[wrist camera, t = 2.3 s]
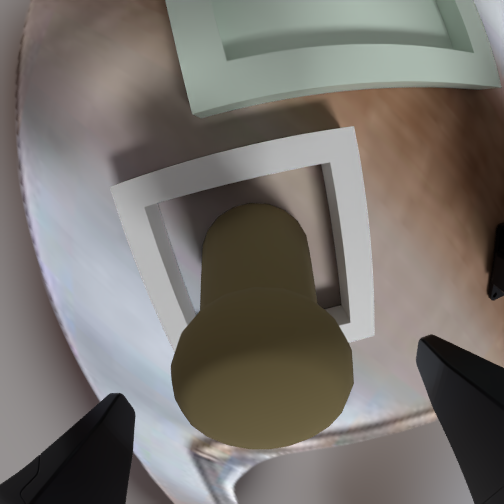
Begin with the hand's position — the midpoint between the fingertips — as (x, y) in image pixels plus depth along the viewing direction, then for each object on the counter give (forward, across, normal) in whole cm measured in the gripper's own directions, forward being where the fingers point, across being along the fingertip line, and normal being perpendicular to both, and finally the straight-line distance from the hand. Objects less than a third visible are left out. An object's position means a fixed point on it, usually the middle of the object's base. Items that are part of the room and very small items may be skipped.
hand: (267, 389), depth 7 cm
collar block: (+10, 0, 0) cm, 10 cm away
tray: (+10, -8, -17) cm, 21 cm away
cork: (+10, 0, 0) cm, 10 cm away
